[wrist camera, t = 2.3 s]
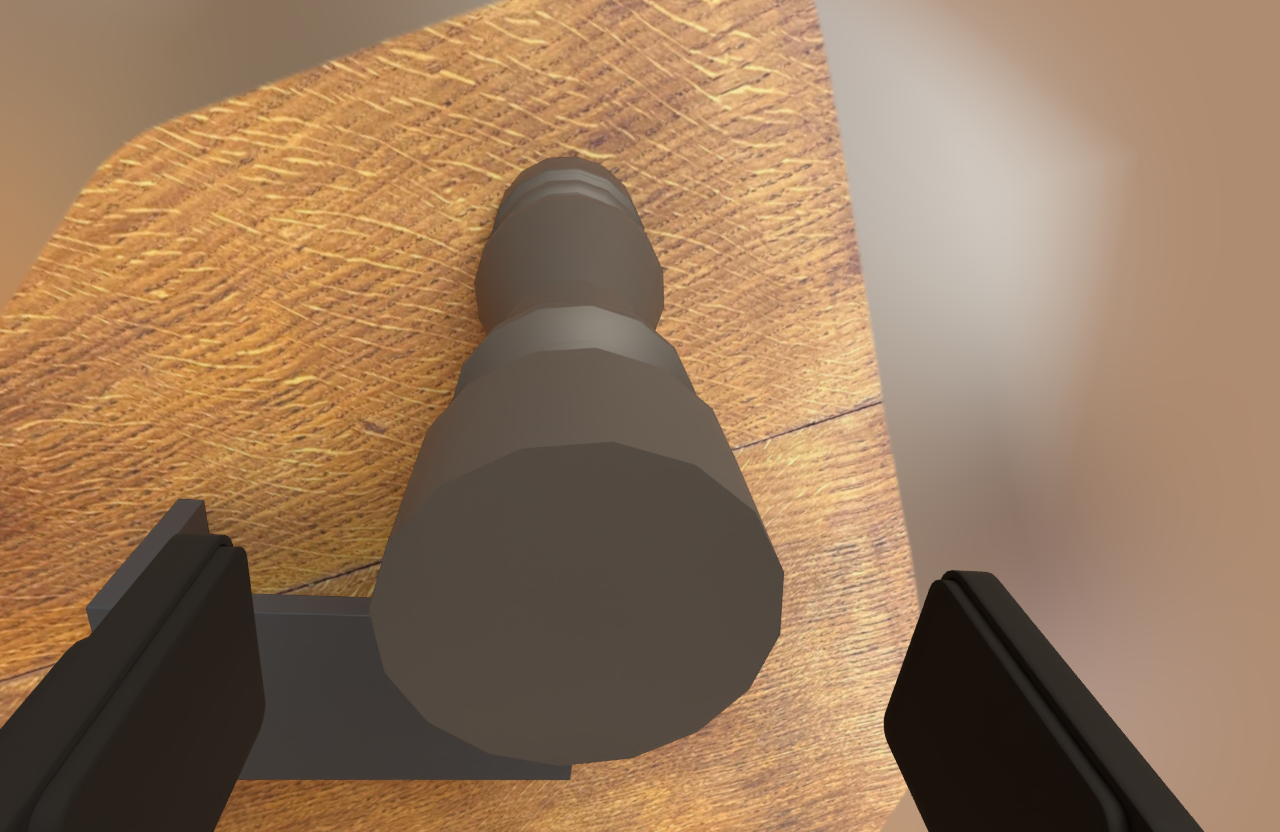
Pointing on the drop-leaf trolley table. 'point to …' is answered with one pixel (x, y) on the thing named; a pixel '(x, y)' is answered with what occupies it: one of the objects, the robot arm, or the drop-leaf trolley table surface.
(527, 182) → the candle holder
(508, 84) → the drop-leaf trolley table surface
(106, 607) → the shelf
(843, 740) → the drop-leaf trolley table surface
